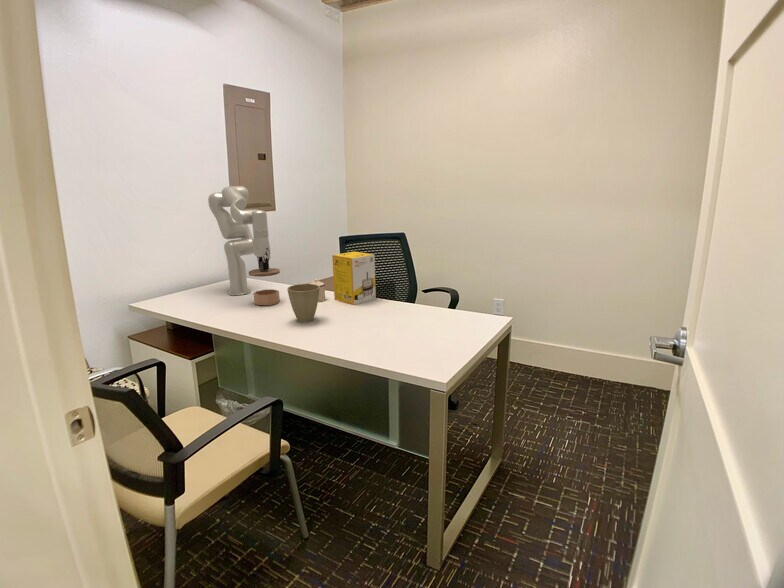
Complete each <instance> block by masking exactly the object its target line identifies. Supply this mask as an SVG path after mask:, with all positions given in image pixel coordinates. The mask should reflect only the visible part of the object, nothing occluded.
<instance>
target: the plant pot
mask: <svg viewBox="0 0 784 588" xmlns="http://www.w3.org/2000/svg"><path fill="white" fill-rule="evenodd" d="M286 290H287V295H288V299H289V302H290V306H291V308H292V311H293V314H294V315H295V318H296V320H297V322H299V321H300V322H299V323H309V322H313V320H314V318H315V315H316V312H317V308H318V303H319V302H318V299H319V290H320V286H318V285H315V284H309V283H298V284H293V285H290V286H288V287H287V289H286Z"/></svg>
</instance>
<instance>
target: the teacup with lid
mask: <svg viewBox="0 0 784 588" xmlns="http://www.w3.org/2000/svg"><path fill="white" fill-rule="evenodd" d="M308 284H315V285H318V286H320V290H319V299H318V303H319V302H323V301H325V300H326V289H325V285H326V284H325V282H322V281H320V280H319V279H318V278H316V279H314V280H313V281H312V282H310V283H308Z"/></svg>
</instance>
